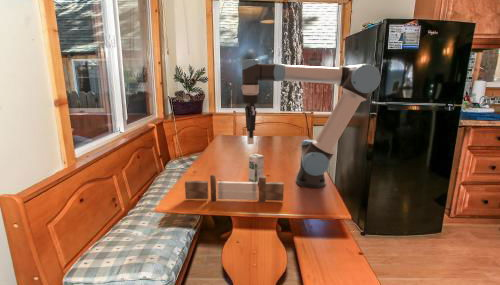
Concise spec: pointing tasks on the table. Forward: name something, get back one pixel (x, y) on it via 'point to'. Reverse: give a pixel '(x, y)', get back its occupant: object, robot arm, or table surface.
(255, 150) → the table surface
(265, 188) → the fence
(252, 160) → the syrup box
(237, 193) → the gate
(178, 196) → the table surface
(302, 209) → the table surface
